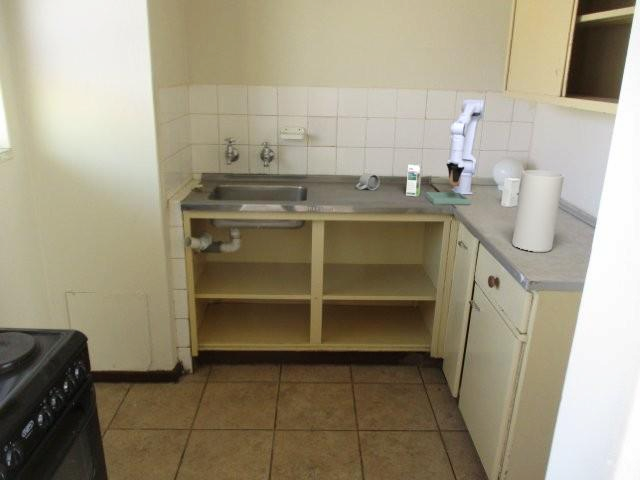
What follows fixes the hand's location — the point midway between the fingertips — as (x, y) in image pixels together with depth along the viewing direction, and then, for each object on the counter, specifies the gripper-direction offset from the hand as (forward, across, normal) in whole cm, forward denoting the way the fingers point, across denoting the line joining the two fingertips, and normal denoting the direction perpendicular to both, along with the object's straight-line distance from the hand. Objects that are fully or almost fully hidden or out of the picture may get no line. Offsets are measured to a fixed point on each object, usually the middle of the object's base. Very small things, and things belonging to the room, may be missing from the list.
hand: (453, 180), depth 235 cm
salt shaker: (+2, 0, 0) cm, 2 cm away
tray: (+10, 0, -2) cm, 10 cm away
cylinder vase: (+10, +65, +7) cm, 66 cm away
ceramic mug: (+10, -25, -35) cm, 44 cm away
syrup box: (+10, -12, -15) cm, 22 cm away
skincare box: (+10, +7, +24) cm, 27 cm away
